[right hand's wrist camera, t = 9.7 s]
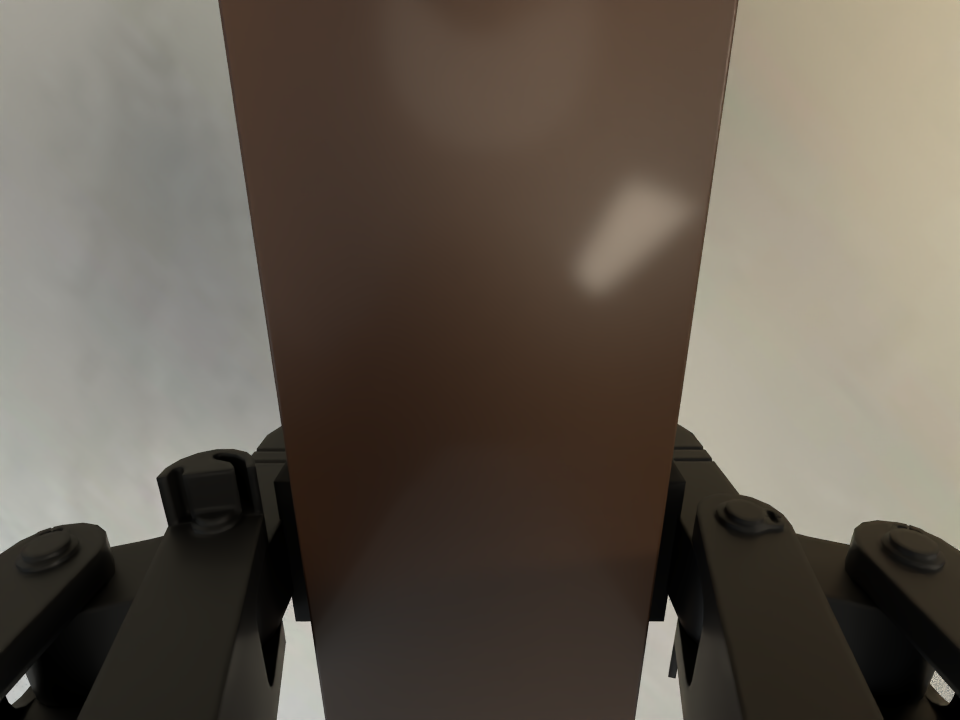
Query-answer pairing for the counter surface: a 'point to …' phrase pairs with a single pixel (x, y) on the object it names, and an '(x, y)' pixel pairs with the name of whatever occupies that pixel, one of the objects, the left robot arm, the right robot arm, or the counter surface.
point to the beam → (479, 329)
